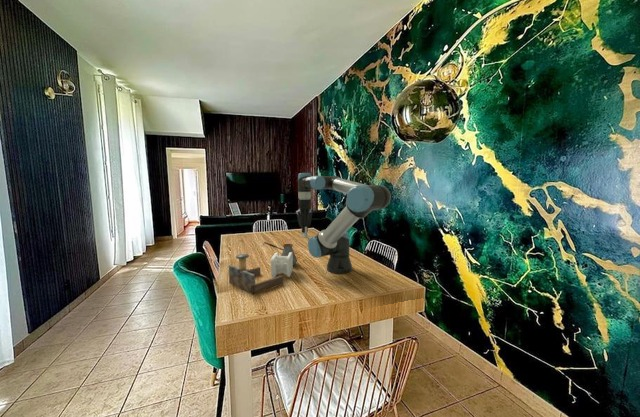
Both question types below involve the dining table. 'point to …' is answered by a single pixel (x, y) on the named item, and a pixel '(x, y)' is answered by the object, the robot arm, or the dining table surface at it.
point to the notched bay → (251, 280)
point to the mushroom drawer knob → (242, 261)
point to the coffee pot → (286, 250)
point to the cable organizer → (281, 264)
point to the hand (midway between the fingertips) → (304, 237)
